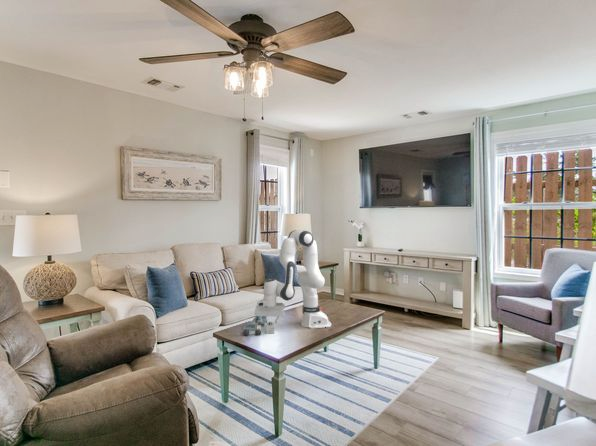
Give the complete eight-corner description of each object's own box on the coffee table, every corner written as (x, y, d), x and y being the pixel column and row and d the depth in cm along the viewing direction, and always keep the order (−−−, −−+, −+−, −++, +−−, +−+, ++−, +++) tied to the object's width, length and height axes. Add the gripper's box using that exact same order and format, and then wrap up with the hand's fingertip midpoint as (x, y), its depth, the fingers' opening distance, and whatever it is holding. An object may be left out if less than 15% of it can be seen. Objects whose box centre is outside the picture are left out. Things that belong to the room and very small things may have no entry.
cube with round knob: (273, 331, 234) (273, 321, 233) (273, 333, 229) (273, 323, 228) (266, 331, 233) (266, 321, 233) (266, 334, 228) (266, 323, 228)
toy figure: (266, 329, 237) (266, 308, 237) (251, 328, 239) (251, 307, 239) (272, 322, 253) (272, 302, 253) (259, 321, 255) (259, 302, 255)
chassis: (261, 330, 236) (261, 323, 236) (261, 335, 225) (261, 329, 225) (244, 330, 236) (244, 323, 235) (243, 336, 224) (243, 329, 224)
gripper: (284, 301, 234) (284, 321, 234) (255, 301, 233) (254, 321, 233) (284, 303, 228) (284, 324, 228) (254, 303, 227) (254, 323, 227)
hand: (269, 322), depth 230 cm, fingers open, 8 cm apart
